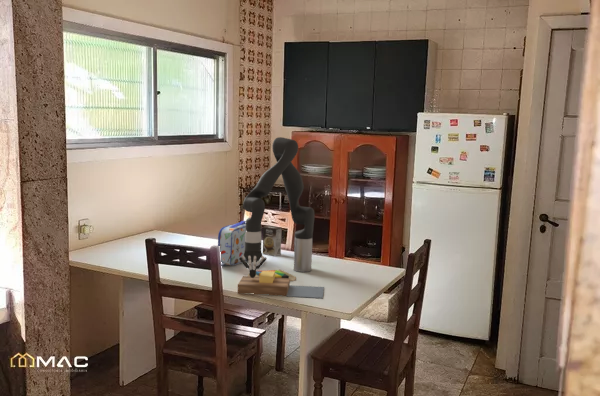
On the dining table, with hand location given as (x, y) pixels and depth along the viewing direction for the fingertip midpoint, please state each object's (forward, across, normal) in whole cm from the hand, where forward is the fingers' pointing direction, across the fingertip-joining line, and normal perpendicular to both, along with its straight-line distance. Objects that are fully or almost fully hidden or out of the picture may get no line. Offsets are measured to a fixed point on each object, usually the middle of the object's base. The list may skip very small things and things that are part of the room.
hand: (252, 277), depth 255 cm
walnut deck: (+5, -6, +3) cm, 8 cm away
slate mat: (+5, -25, +2) cm, 26 cm away
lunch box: (+5, +16, -45) cm, 48 cm away
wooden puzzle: (+6, -7, -17) cm, 19 cm away
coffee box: (+5, 0, -66) cm, 66 cm away
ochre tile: (-1, -7, 0) cm, 7 cm away
